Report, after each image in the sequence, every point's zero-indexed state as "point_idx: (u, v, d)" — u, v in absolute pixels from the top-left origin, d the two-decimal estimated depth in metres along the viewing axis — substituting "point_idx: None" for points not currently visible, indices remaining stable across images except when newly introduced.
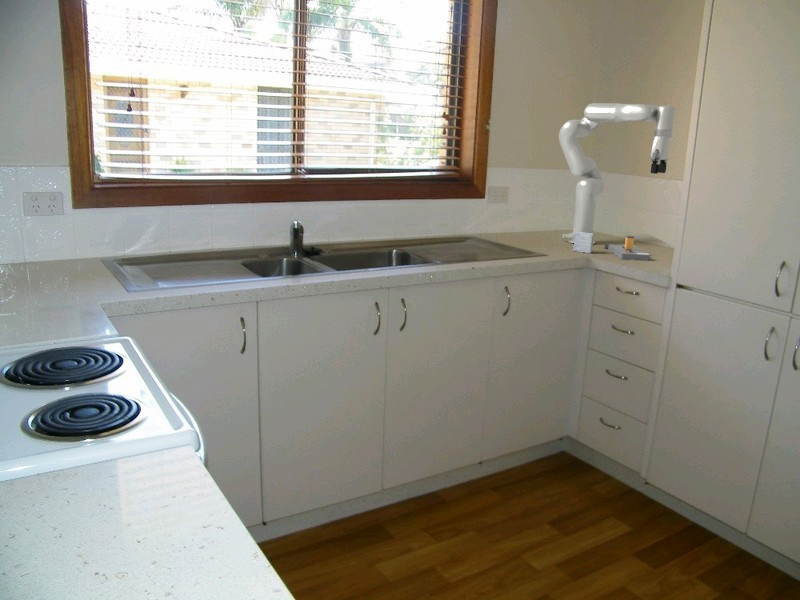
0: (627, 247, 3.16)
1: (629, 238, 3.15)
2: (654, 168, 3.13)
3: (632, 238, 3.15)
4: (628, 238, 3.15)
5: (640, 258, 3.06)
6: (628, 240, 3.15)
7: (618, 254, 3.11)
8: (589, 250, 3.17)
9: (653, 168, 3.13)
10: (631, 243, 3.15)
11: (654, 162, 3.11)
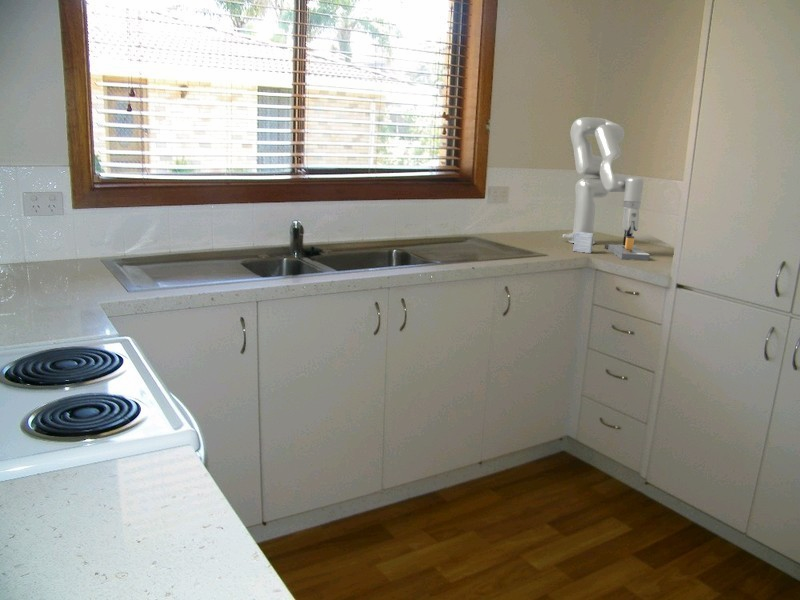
0: (627, 247, 3.15)
1: (629, 238, 3.14)
2: None
3: (632, 238, 3.14)
4: (628, 238, 3.14)
5: (640, 258, 3.06)
6: (628, 240, 3.15)
7: (618, 254, 3.11)
8: (589, 250, 3.17)
9: None
10: (631, 243, 3.15)
11: None
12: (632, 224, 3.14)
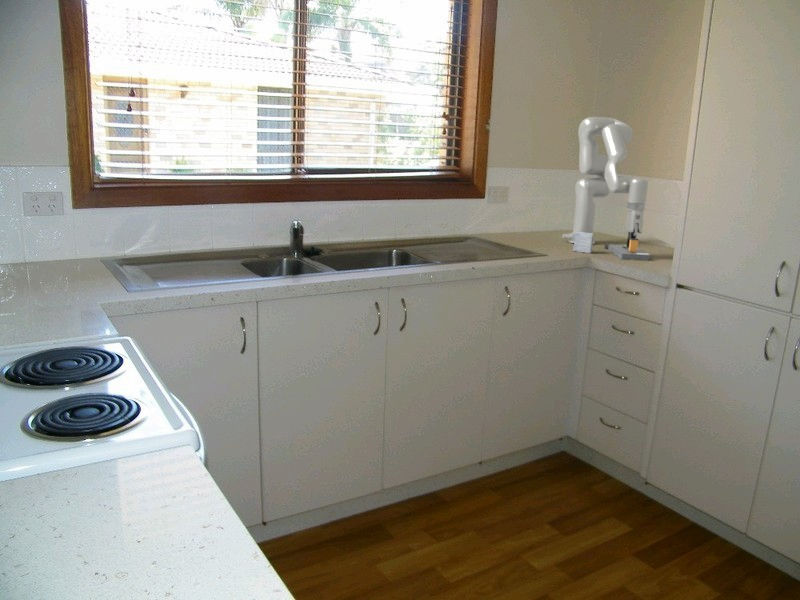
0: (631, 250, 3.10)
1: (633, 240, 3.09)
2: None
3: (636, 240, 3.08)
4: (632, 240, 3.09)
5: (640, 258, 3.06)
6: (632, 242, 3.09)
7: (618, 254, 3.11)
8: (589, 250, 3.17)
9: None
10: (635, 245, 3.09)
11: None
12: (636, 226, 3.08)
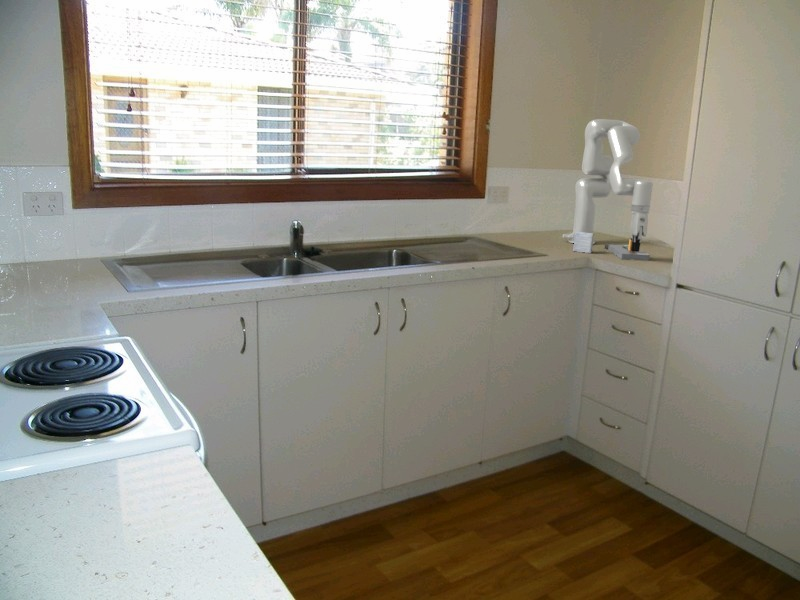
0: None
1: None
2: None
3: None
4: None
5: (640, 258, 3.06)
6: None
7: (618, 254, 3.11)
8: (589, 250, 3.17)
9: None
10: None
11: None
12: (640, 229, 3.01)
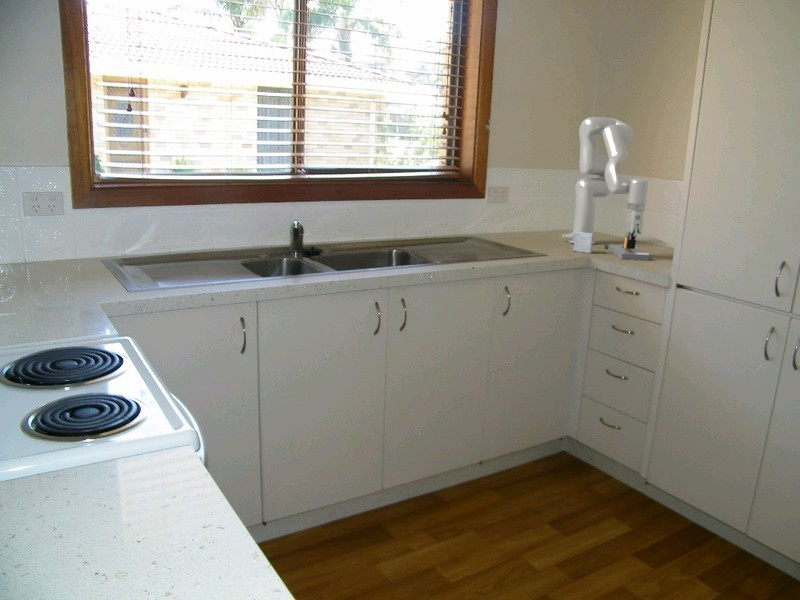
0: (626, 247, 3.17)
1: None
2: None
3: None
4: (627, 238, 3.16)
5: (640, 258, 3.06)
6: (627, 240, 3.16)
7: (618, 254, 3.11)
8: (589, 250, 3.17)
9: None
10: None
11: None
12: (636, 227, 3.07)
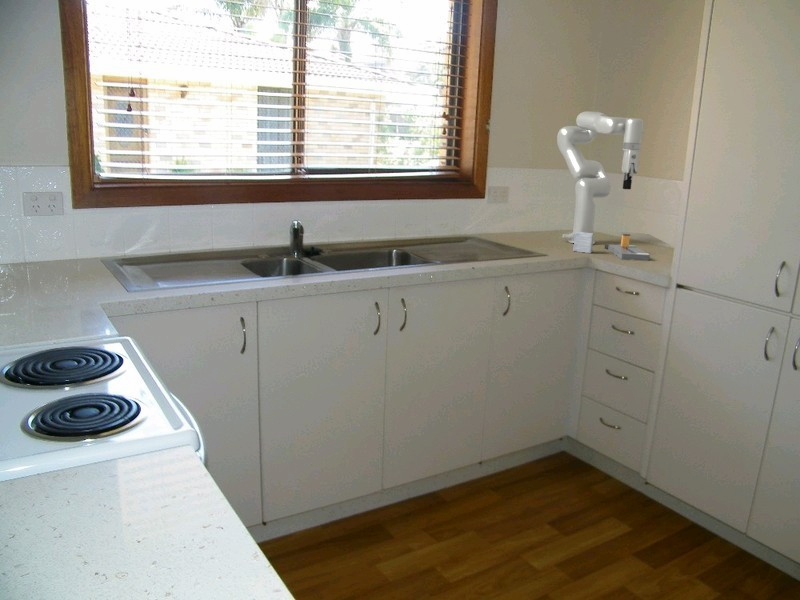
0: (623, 245, 3.22)
1: (625, 236, 3.21)
2: None
3: (628, 236, 3.21)
4: (624, 236, 3.21)
5: (640, 258, 3.06)
6: (624, 238, 3.21)
7: (618, 254, 3.11)
8: (589, 250, 3.17)
9: None
10: (627, 241, 3.22)
11: None
12: (632, 166, 3.08)
